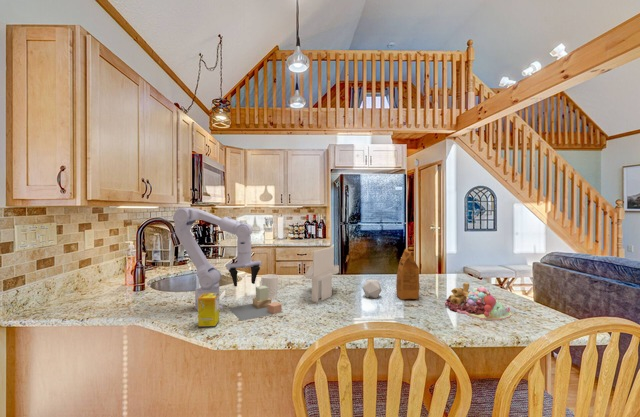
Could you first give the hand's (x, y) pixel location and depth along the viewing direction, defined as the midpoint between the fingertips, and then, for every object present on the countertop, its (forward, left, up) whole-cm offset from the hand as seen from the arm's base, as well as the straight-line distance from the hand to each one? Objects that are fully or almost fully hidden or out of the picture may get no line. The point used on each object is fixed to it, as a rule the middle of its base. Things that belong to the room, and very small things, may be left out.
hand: (244, 284), depth 131 cm
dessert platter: (+82, -53, -10) cm, 98 cm away
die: (+56, -17, -10) cm, 59 cm away
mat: (+3, -5, -10) cm, 12 cm away
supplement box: (-17, -11, -10) cm, 23 cm away
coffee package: (+70, -26, -10) cm, 75 cm away
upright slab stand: (+37, -3, -10) cm, 38 cm away
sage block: (+7, -2, -7) cm, 10 cm away
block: (+9, -11, -10) cm, 17 cm away
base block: (+7, -2, -10) cm, 12 cm away
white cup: (+15, +8, -10) cm, 20 cm away
